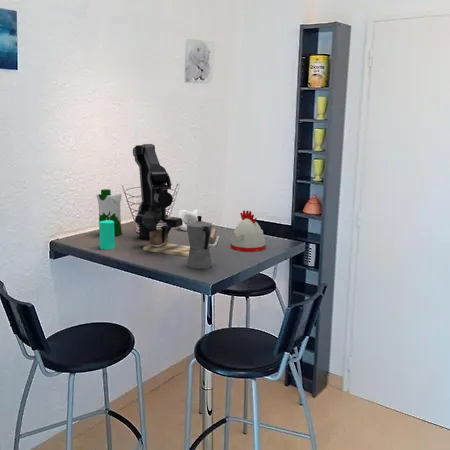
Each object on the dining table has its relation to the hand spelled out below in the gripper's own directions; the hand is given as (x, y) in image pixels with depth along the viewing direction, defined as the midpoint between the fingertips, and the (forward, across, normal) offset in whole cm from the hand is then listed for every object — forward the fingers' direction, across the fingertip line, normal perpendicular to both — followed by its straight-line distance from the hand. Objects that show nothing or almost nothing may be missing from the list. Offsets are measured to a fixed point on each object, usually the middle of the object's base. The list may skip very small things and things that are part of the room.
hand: (158, 241), depth 219 cm
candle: (+3, -19, -8) cm, 21 cm away
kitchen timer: (+3, +30, +19) cm, 36 cm away
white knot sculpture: (+3, -7, +36) cm, 37 cm away
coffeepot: (+3, +26, -14) cm, 30 cm away
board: (+3, +6, 0) cm, 7 cm away
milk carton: (+3, -31, +10) cm, 33 cm away
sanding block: (+1, 0, 0) cm, 1 cm away
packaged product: (+4, +11, +20) cm, 23 cm away
